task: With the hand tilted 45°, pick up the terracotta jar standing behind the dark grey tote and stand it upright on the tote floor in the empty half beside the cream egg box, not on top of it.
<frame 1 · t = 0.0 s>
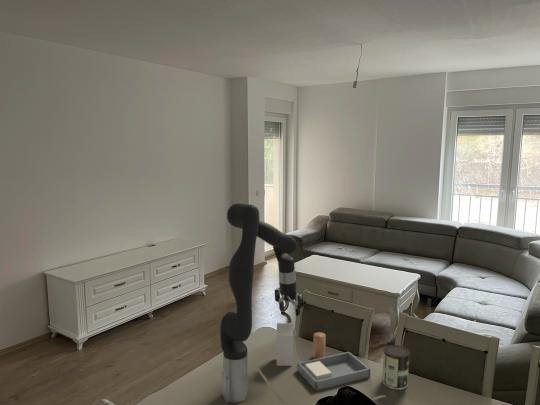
hand: (289, 312, 186), 22 cm above the table, tool pointing down, fingers open, 8 cm apart
terracotta jar: (318, 359, 188), on the table
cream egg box: (317, 377, 172), point 1 cm above the table, touching grey tote
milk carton: (284, 363, 185), on the table
grey tote: (333, 375, 175), on the table
coffee can: (394, 383, 171), on the table
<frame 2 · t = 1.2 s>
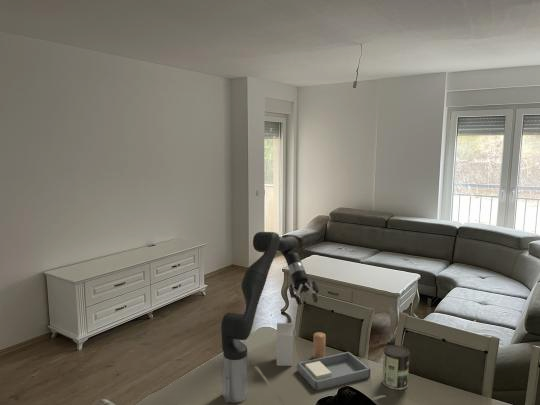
hand: (308, 303, 196), 23 cm above the table, tool tilted 45°, fingers open, 8 cm apart
nothing on the table moved.
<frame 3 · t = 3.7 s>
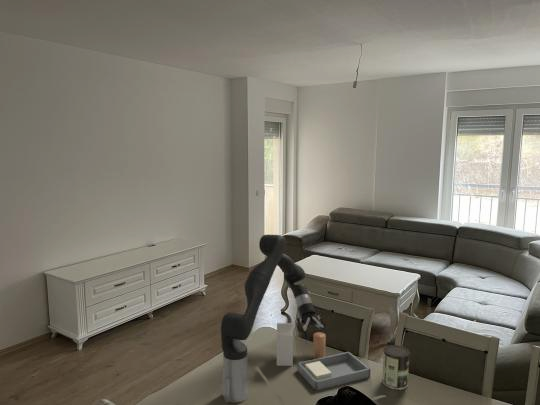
hand: (316, 338, 190), 9 cm above the table, tool tilted 45°, fingers open, 8 cm apart
nothing on the table moved.
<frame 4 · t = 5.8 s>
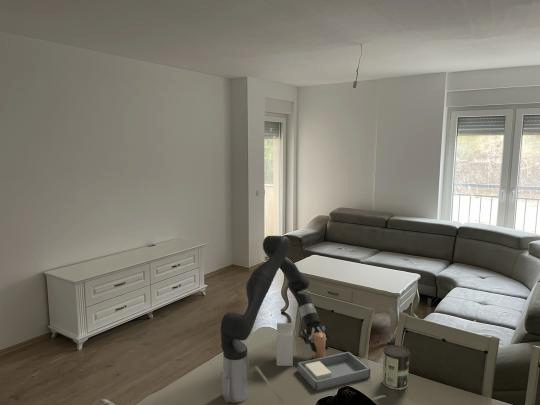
hand: (321, 350, 186), 5 cm above the table, tool tilted 45°, fingers closed on terracotta jar, 5 cm apart
terracotta jar: (318, 359, 188), on the table, touching gripper
everything else where it was.
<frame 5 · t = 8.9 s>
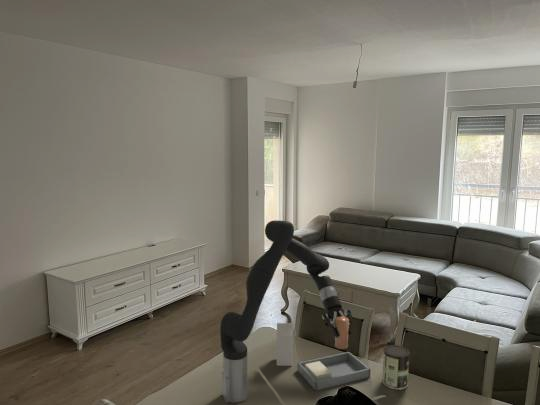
hand: (344, 335, 173), 18 cm above the table, tool tilted 45°, fingers closed on terracotta jar, 5 cm apart
terracotta jar: (341, 345, 176), point 12 cm above the table, touching gripper
everything else where it was.
when the fingers open (8 cm above the table, at t = 11.8 s): terracotta jar drops 1 cm, resting on grey tote.
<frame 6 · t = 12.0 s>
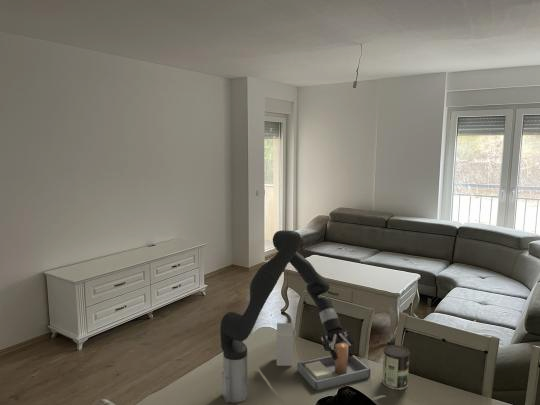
hand: (343, 357, 174), 8 cm above the table, tool tilted 45°, fingers open, 7 cm apart
terracotta jar: (340, 371, 177), point 1 cm above the table, touching grey tote
everything else where it was.
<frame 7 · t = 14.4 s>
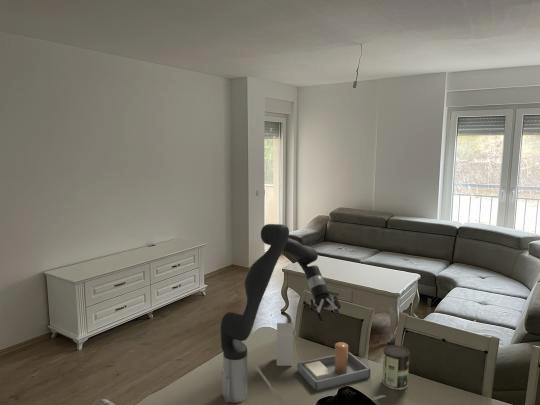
hand: (330, 320, 184), 20 cm above the table, tool tilted 45°, fingers open, 8 cm apart
nothing on the table moved.
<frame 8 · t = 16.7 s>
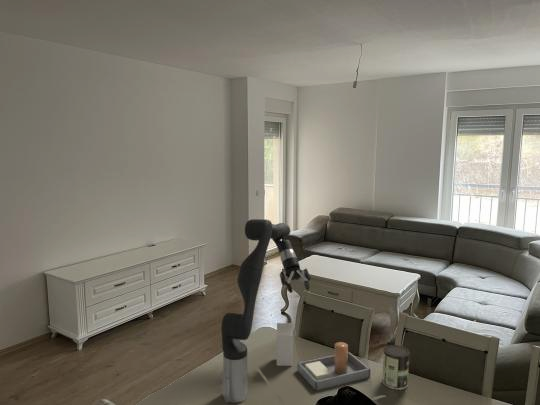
hand: (299, 290, 190), 31 cm above the table, tool tilted 45°, fingers open, 8 cm apart
nothing on the table moved.
at the end: terracotta jar inside the target area on the grey tote (2.4 cm from its centre), point 1.1 cm above the grey tote's base; terracotta jar tilted 2°; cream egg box moved 0.0 cm from its start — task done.
